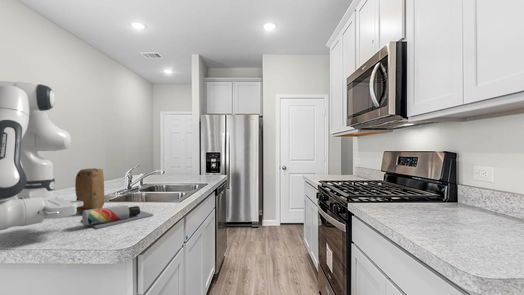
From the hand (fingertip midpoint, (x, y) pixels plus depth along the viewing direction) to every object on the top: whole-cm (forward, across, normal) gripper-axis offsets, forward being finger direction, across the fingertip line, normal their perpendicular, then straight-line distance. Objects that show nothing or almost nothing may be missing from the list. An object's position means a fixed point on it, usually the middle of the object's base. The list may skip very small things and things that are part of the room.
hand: (82, 202), depth 98 cm
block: (+10, +21, +9) cm, 25 cm away
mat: (+13, 0, +9) cm, 16 cm away
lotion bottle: (0, -2, +5) cm, 6 cm away
